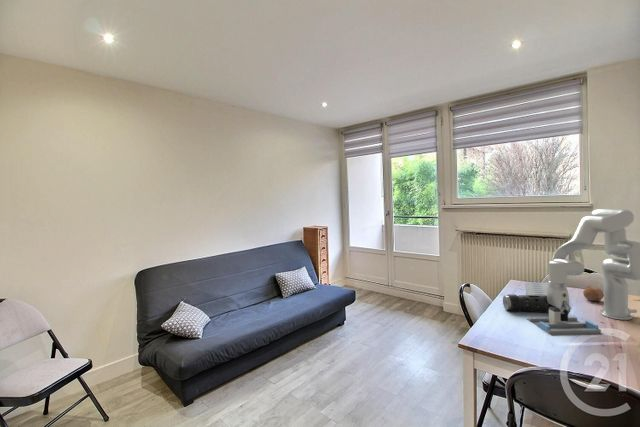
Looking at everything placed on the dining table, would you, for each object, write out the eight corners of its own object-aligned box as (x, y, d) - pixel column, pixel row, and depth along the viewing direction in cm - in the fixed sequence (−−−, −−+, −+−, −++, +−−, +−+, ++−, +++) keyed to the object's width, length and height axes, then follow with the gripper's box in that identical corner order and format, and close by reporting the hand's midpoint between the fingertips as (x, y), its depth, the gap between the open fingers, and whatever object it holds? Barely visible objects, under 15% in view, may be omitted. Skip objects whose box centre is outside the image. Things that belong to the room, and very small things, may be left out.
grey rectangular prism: (560, 321, 160) (560, 306, 159) (566, 324, 156) (566, 309, 155) (548, 321, 160) (548, 307, 160) (554, 325, 156) (554, 309, 156)
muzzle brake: (564, 316, 168) (564, 298, 167) (508, 315, 174) (508, 297, 173) (554, 310, 177) (554, 293, 177) (502, 308, 183) (502, 292, 182)
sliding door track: (571, 319, 164) (571, 312, 163) (604, 336, 144) (604, 328, 144) (526, 320, 165) (526, 313, 165) (552, 337, 145) (552, 329, 145)
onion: (585, 303, 192) (578, 287, 196) (603, 301, 189) (596, 285, 193) (590, 303, 184) (582, 286, 188) (609, 300, 181) (601, 283, 185)
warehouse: (524, 290, 215) (524, 279, 214) (550, 293, 207) (550, 282, 206) (526, 304, 190) (526, 292, 189) (555, 307, 182) (555, 295, 181)
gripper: (578, 290, 148) (577, 324, 149) (552, 280, 165) (552, 310, 166) (562, 290, 148) (561, 324, 149) (538, 280, 166) (538, 311, 167)
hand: (557, 317), depth 158 cm, fingers open, 9 cm apart
